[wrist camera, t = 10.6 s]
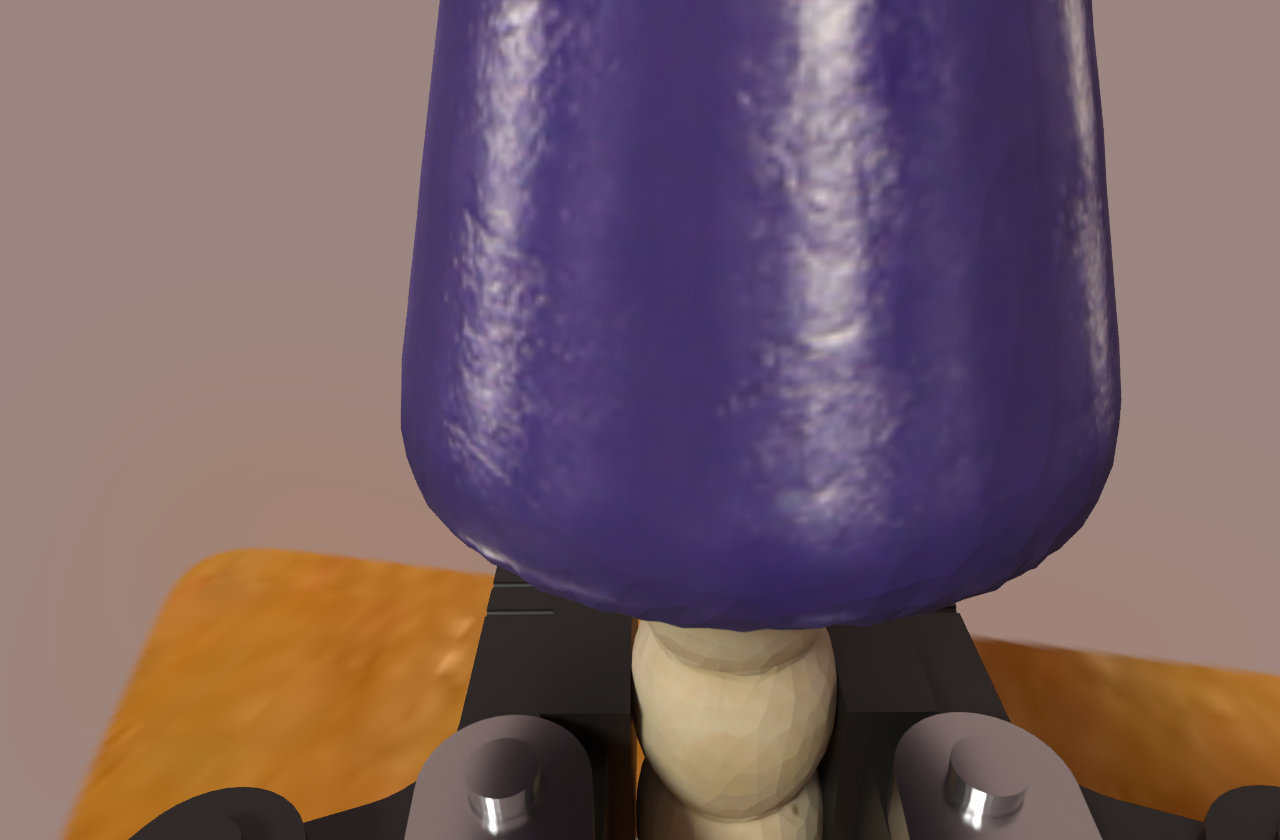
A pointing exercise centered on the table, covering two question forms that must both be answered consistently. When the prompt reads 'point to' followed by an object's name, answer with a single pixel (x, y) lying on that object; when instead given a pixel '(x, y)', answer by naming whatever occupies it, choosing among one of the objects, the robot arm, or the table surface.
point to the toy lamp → (760, 340)
